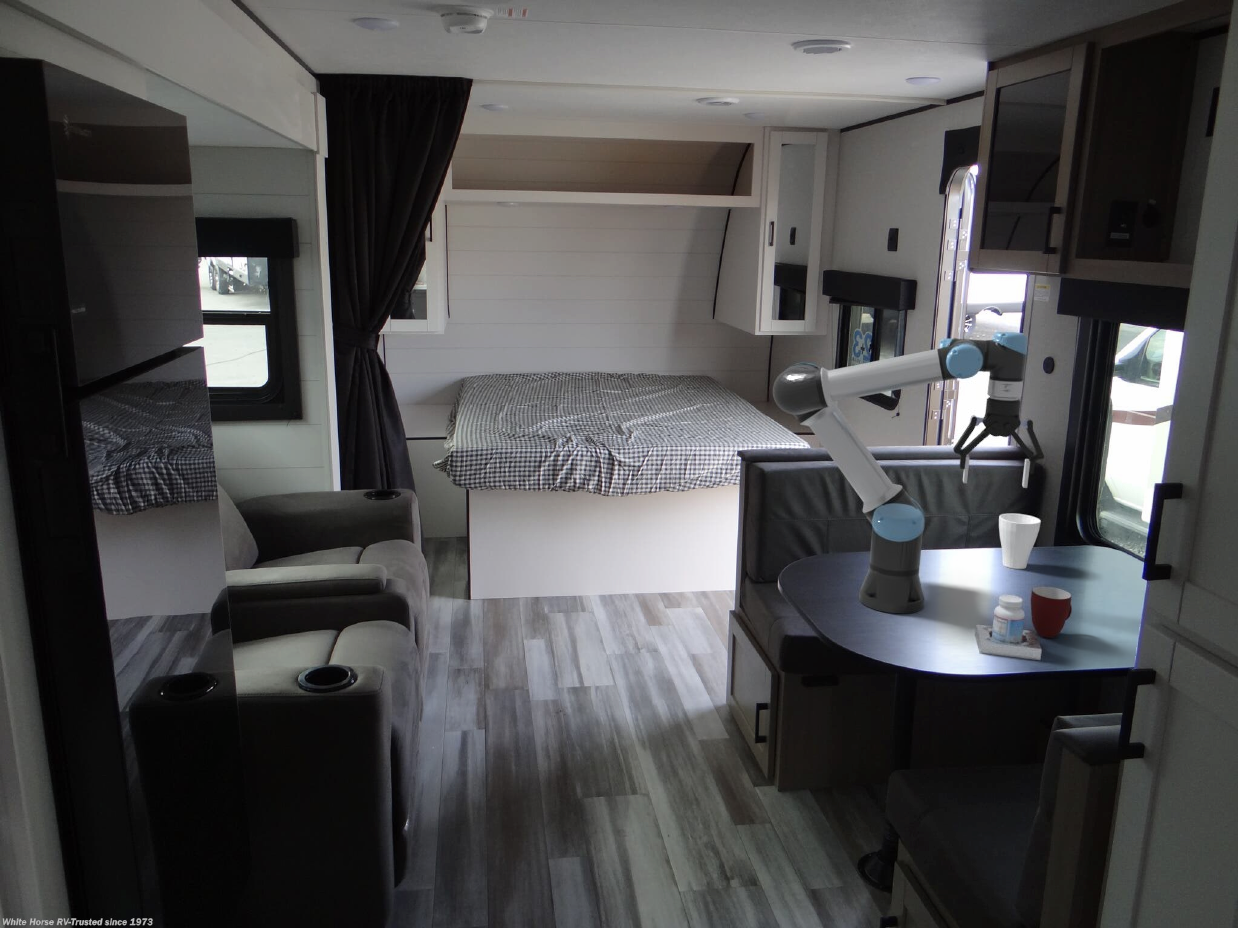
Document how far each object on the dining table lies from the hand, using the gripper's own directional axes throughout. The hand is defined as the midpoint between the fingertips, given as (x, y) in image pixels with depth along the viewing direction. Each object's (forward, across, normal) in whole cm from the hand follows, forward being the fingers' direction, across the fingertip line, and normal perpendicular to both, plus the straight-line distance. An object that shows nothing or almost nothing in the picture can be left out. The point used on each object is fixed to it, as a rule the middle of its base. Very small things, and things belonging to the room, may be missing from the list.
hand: (994, 484), depth 224 cm
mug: (+29, +12, -21) cm, 38 cm away
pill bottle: (+29, +2, -32) cm, 43 cm away
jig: (+29, +2, -32) cm, 43 cm away
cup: (+29, +11, +28) cm, 42 cm away
